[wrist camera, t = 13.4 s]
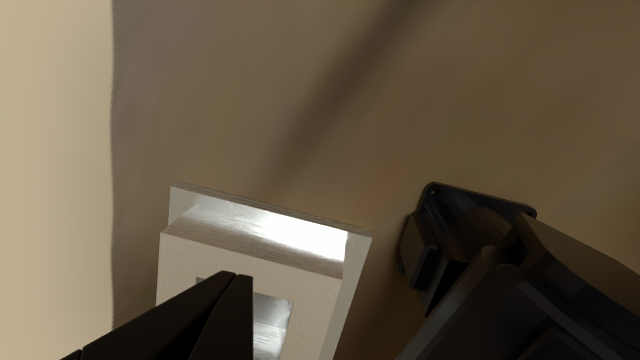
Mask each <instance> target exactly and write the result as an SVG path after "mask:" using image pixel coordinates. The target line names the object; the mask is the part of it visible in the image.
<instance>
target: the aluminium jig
mask: <svg viewBox="0 0 640 360" xmlns="http://www.w3.org/2000/svg"><path fill="white" fill-rule="evenodd" d="M371 241H372V231H371V230H367V229H364V228H360V227H356V226H352V225H348V224H344V223H340V222H336V221H332V220H329V219H325V218H321V217H317V216H313V215H309V214H305V213H301V212H297V211H294V210H290V209H286V208H282V207H278V206H274V205H270V204H266V203H262V202H259V201H255V200H251V199H247V198H243V197H239V196H235V195H231V194H227V193H224V192H220V191H216V190H212V189H208V188H204V187H200V186H196V185H192V184H189V183H185V182H181V181H179V182H177V183H175V184H174V185H172V186H171V191H170V206H169V220H168V227H167V228H165V229H164V230H163V231H162V232H161V233H160V248H159V264H158V280H157V296H156V306H158V305H159V304H161V303H163V302H165V301H167V300H168V299H170V298H172V297H174V296H176V295H177V294H179V293H181V292H183V291H185V290H186V289H188V288H190V287H192V286H194V285H195V284H197V283H199V282H201V281H203V280H204V279H206V278H208V277H210V276H212V275H213V274H215V273H217V272H219V271H221V270H225V271H230V272H234V273H236V274H237V275H238V274H244V275H249V276H252V277H253V279H254V343H253V360H333V357H334V354H335V351H336V348H337V344H338V341H339V338H340V335H341V332H342V329H343V326H344V323H345V320H346V317H347V314H348V311H349V308H350V305H351V302H352V299H353V296H354V293H355V290H356V287H357V283H358V280H359V277H360V274H361V271H362V268H363V265H364V262H365V259H366V256H367V253H368V250H369V247H370V244H371Z"/></svg>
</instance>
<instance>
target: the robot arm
mask: <svg viewBox="0 0 640 360" xmlns="http://www.w3.org/2000/svg"><path fill="white" fill-rule="evenodd" d="M434 188H438V192H437V193H435V194H432V193H431V191H432V189H434ZM525 212H529V214H528V215H526V214H524V213H525ZM536 217H537V212H536V210H535V209H534V208H532V207H531V206H529V205H526V204H522V203H518V202H514V201H510V200H506V199H502V198H498V197H494V196H490V195H486V194H482V193H478V192H474V191H470V190H466V189H462V188H458V187H454V186H450V185H446V184H442V183H438V182H431V183H429V184H428V185H427V186H426V188H425V191H424V194H423V196H422V199H421V202H420V204H419V207H418V210H417V211H414V212H413V213H411V215H410V218H409V221H408V223H407V226H406V229H405V232H404V234H403V237H402V240H401V242H400V245H399V248H400V252H401V256H400V258H399V261H398V264H397V267H398V271H399V273H400V274H402V275H405V276H406V277H407V281H408V284H409V286H410V288H411V289H412V290H416V291H418V293H419V297H420V300H421V304H422V307H423V311H424V314H425V317H426V319H425V320H424V322H423V323H422V324H421V325H420V327H419V328H418V329H417V330H416V332H415V333H414V334H413V336H412V337H411V338H410V339H409V341H408V342H407V343H406V344H405V346H404V347H403V348H402V349H401V351H400V352H399V353H398V354H397V356H396V357H395V358H394V360H640V275H638V274H637V273H635V272H634V271H632V270H631V269H629V268H628V267H626V266H624V265H623V264H621V263H620V262H618V261H617V260H615V259H613V258H611V257H609V256H607V255H605V254H603V253H601V252H599V251H597V250H595V249H593V248H591V247H589V246H588V245H586V244H584V243H582V242H580V241H578V240H576V239H574V238H572V237H570V236H568V235H566V234H564V233H562V232H560V231H558V230H556V229H554V228H552V227H550V226H548V225H546V224H544V223H542V222H540V221H538V220H536ZM403 266H404V268H402V267H403ZM253 343H254V279H253V277H252V276H249V275H244V274H238V275H237V274H236V273H234V272H230V271H225V270H221V271H219V272H217V273H215V274H213V275H212V276H210V277H208V278H206V279H204V280H203V281H201V282H199V283H197V284H195V285H194V286H192V287H190V288H188V289H186V290H185V291H183V292H181V293H179V294H177V295H176V296H174V297H172V298H170V299H168V300H167V301H165V302H163V303H161V304H159V305H158V306H156V307H154V308H152V309H150V310H149V311H147V312H145V313H143V314H141V315H140V316H138V317H136V318H134V319H132V320H131V321H129V322H127V323H125V324H123V325H122V326H120V327H118V328H116V329H114V330H113V331H111V332H109V333H107V334H106V335H104V336H102V337H100V338H98V339H96V340H95V341H93V342H91V343H89V344H87V345H86V346H84V347H83V349H82V350H80V349H78V350H76V351H75V352H73V353H71V354H70V355H68V356H66V357H64V358H62V359H60V360H253Z"/></svg>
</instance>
